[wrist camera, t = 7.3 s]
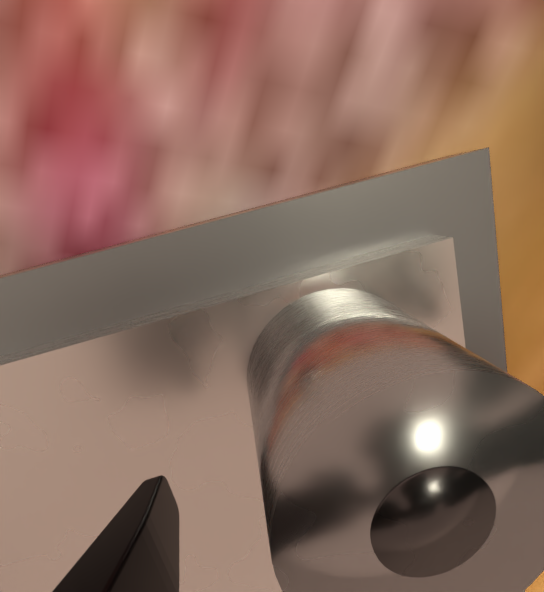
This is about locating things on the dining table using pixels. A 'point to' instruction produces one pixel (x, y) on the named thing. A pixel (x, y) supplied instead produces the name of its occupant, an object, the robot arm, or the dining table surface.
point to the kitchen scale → (210, 358)
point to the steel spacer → (392, 454)
